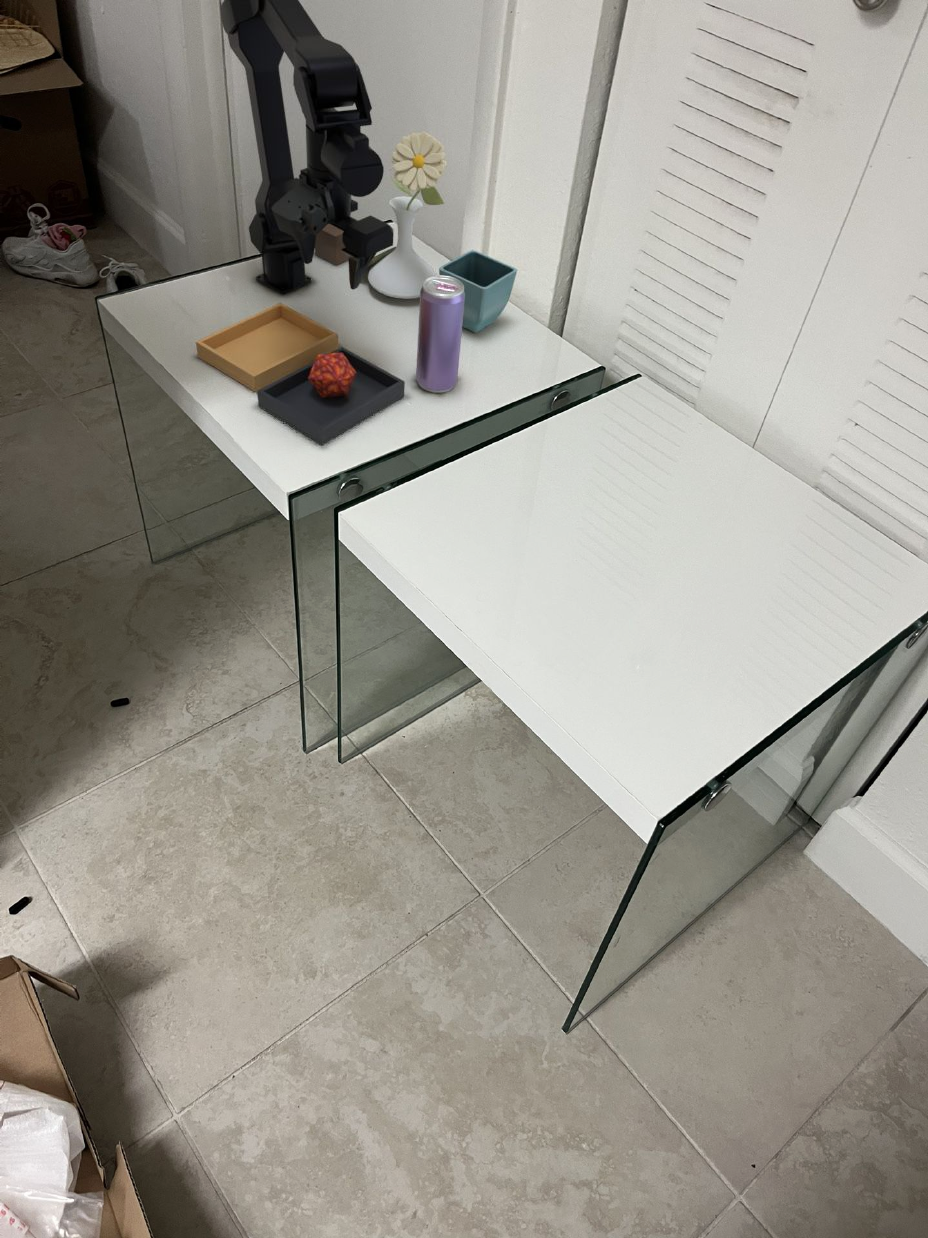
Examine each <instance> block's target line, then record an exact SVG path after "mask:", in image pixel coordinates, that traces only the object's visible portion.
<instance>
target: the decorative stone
mask: <svg viewBox="0 0 928 1238" xmlns="http://www.w3.org/2000/svg"><path fill="white" fill-rule="evenodd" d="M355 375H356V371H355V370H354V369H353V367H352V366H351V364H350V363H349V361H348V360H347V358H346V357H345V356H344V354H343V353H342V352H341V353H331V354H321V355H317V358H316V360H315V362H314V365H313V367H312V369H311V372H310V374H309V377H308V379H309V380H310V382H311V383H312V385H313V386H314V387H315V389H316V390H317V391H318V393H319V394H320V396H321V397H322V398H330V397H339V396H347V394H348V391H349V389H350V387H351V384H352V382H353V380H354V378H355Z"/></svg>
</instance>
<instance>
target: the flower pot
mask: <svg viewBox="0 0 928 1238" xmlns="http://www.w3.org/2000/svg"><path fill="white" fill-rule="evenodd" d="M517 272H518V269H517V268H515V267H514V266H512V265H509V264H507V263H504V262H502V261H500V260H497V259H495V258H493V257H491V256H489V255H486V254H484V253H482V252H480V251H477V250H474V249H472V250H469V251H466V252H465V253H463V254H462V255H460V256H458V257H456V258H454V259H453V260H451V261H448V262H447V263H445V264H443V265H441V266H439V267H438V273H439V274H438V276H439V275H442V276H450V277H453V278H456V279H458V280H459V281H461V282H462V284H463V285H464V293H465V300H464V311H463V323H462V328H464V329H467V330H469V331H471V332H473V333H479V332H480V331H482V330H484V329H485V328H487V327H489V325H491V324H493V323H494V322H495V321H496V320H497V319H498V318H499V317H500V315H502V312H503V311H504V310H505V308H506V307H507V304H508V302H509V300H510V297H511V294H512V291H513V288H514V284H515V280H516V277H517V276H516V275H517Z"/></svg>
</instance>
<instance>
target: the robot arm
mask: <svg viewBox="0 0 928 1238" xmlns="http://www.w3.org/2000/svg"><path fill="white" fill-rule="evenodd" d="M220 19H221V24H222V28H223V30H224V32H225V34H226V36H227V40H228V44H229V47H230V49H231V51H232V52H233V53H234V55H235V56H236V58H237V59H238V61H240V63H241V65H242V66H243V68H244V71H245V76H246V84H247V88H248V89H247V90H248V96H249V102H250V108H251V115H252V121H253V129H254V134H255V141H256V146H257V153H258V154H257V155H258V159H259V167H260V172H261V179H262V180H261V183H260V186H259V187H258V191H257V193H256V196H255V199H254V205H255V214H254V216H253V218H252V220H251V221H250V224H249V226H248V232H249V238H250V242H251V244H252V245H253V246H254V248H255V249H256V250H257V251H258V252H259V253H260V255H261V263H262V273H260V274H258V275H256V276H255V281H257V282H259V283H260V284H262V285H264V286H266V287H268V288H270V289H272V290H273V291H275V292H277V293H280V295H285V294H287V293H290V292H292V291H294V290H297V289H298V288H301V287H303V286H305V285H307V284H309V283H311V282H312V277H310V276H308V275H307V274H306V266H305V264H306V265H309V264H311V263H312V262H313V259H314V255H315V242H316V235H317V234H318V233H319V232H320V231H321V230H322V229H323V228H324V227H326V226H327V224H331V225H333V226H335V227H337V228H339V229H340V230H342V231H344V232H343V234H342V242H343V244H344V246H345V248H343V249H341V250H342V251H343V252H344V253H345V254H346V255H347V256H348V260H347V261H348V279H349V288H350V289H351V290H353V291H354V290H356V289H358V288H359V286H360V284H361V282H362V281H363V279H364V277H365V274H366V272H367V270H368V269H367V268H368V266H369V265H370V263H371V261H372V259H373V258H374V257H375V256H377V253H380V252H381V251H382V252H383V251H385V250H386V249H389V248H392V247H394V237H395V236H394V232H395V231H394V228H393V226H391V225H390V224H388V223H387V222H385V221H383V220H381V219H379V218H378V217H375V216H373V215H371V214H370V215H368V216H366V217H364V218H361V219H356V218H354V217H352V216H351V215H352V213H354V212H356V211H358V210H359V202H358V201H356V200H354V199H352V197H355V198H356V197H357V198H364V197H367V196H369V195H370V194H372V193H374V192H375V191H376V190H377V189H378V188H379V186H380V184H381V183H382V180H383V177H384V172H385V171H384V164H383V161H382V159H381V157H380V155H379V154H378V153H377V152H376V151H375V150H374V149H373V148H372V147H371V146H370V139H369V137H368V136H367V135H366V134H365V133H362V132H361V129H362V128H361V127H368V126H372V125H373V121H372V117H371V111H372V110H373V106H372V103H371V100H370V97H369V94H368V91H367V87H366V84H365V83H366V82H365V80H364V77H363V74H362V72H361V69H360V66H359V64H357V63H356V60H355V59H354V57H353V56H352V55H351V54H350V53H349V51H348V50H346V48H344V47H343V45H342V44H339V43H337V42H334V41H332V40H329V39H327V38H325V37H324V36H323V35H322V33H321V32H320V30H319V28H318V27H317V25H316V23H314V20H312V19H311V16H310V15H309V14H308V12H307V11H306V9H305V7H304V6H303V5H302V3H301V1H300V0H223V1H222V2H221V5H220ZM284 54H285V55H286V57H287V59H288V60H289V61H290V63H291V64H292V66H293V74H292V76H293V77H292V78H293V79H292V81H293V82H292V84H293V87H294V92H295V96H296V97H297V100H298V104H299V105H300V108H301V109H300V110H301V113H302V114H303V117H304V119H305V146H306V149H305V150H306V167H305V168H302V169H300V174H299V175H298V177H295V175H294V168H293V166H294V165H293V160H292V153H291V146H290V145H291V144H290V138H289V129H288V125H287V124H288V123H287V118H286V108H285V103H284V96H283V95H284V94H283V88H282V81H281V73H280V64H281V62H282V59H283V56H284ZM354 105H355V109H347V110H346V109H345V110H338V108H345V107H353V106H354Z"/></svg>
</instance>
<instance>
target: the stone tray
mask: <svg viewBox="0 0 928 1238" xmlns="http://www.w3.org/2000/svg"><path fill="white" fill-rule="evenodd" d="M341 352H342V353H343V354H344V356H345V357H346V358H347V360H348V361H349V363H350V364H351V366H352V367H353V369H354V370H355V371H356V375H355V378H354V380H353V382H352V384H351V387H350V389H349V391H348V394H347V396H339V397H330V398H322V397H321V396H320V394H319V393H318V391H317V390H316V389H315V387H314V386H313V385H312V383H311V382H310V380H309V379H308V377H309V374H310V372H311V369H312V367H313V365H314V362H315V361H314V362H312V363H310V364H308V365H306V366H304V367H302V368H300V369H298V370H296V371H295V372H293V373H291V374H289V375H287V376H285V377H283V378H281V379H279V380H277V381H275V382H273V383H271V384H270V385H268V386H266V387H264V388H262V389H260V390H258V391H256V395H257V403H258V404H257V406H258V408H260V409H262V410H263V411H265V412H267V413H269V414H270V415H272V416H273V417H275V418H277V419H278V420H280V421H281V422H283V423H285V424H286V425H288V426H289V427H292V429H294V430H296V431H298V432H299V433H300V434H302V435H304V436H305V437H307V438H309V439H311V440H312V441H314V442H316V443H317V444H319V445H320V446H324V445H325V444H326V443H328V442H330V441H331V440H334V439H335V438H337V437H339V436H340V435H343V434H344V433H345V432H347V431H349V430H350V429H352V428H353V427H356V426H357V425H358V424H360V423H362V422H364V421H366V420H367V419H369V418H371V417H372V416H374V415H375V414H377V413H379V412H380V411H382V410H384V409H386V408H387V407H389V406H392V404H394V403H396V402H397V401H399V400H401V399H403V398H405V389H406V388H405V385H406V381H405V380H403V379H401V378H399V377H397V376H396V375H394V374H392V373H390V372H389V371H387V370H385V369H383V368H382V367H379V366H378V365H376V364H374V363H372V362H371V361H369V360H367V359H365V358H363V357H361V356H360V355H358V354H356V353H354V352H352V351H351V350H349V349H347V348H345V347H343V346H341V347H338V349H337V350H335V351H333V352H331V353H341ZM331 353H329V354H331Z"/></svg>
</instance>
